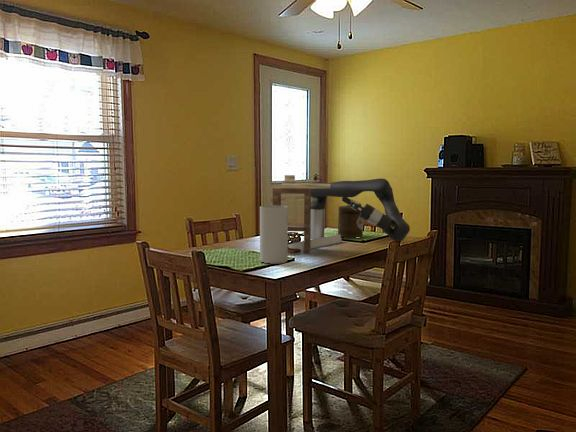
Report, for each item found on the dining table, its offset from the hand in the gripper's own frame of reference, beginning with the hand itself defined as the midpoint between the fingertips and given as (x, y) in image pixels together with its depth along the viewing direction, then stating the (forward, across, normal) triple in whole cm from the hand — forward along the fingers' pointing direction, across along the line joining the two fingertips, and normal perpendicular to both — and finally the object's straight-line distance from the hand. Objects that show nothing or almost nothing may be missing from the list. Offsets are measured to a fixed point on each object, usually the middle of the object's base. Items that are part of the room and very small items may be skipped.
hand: (342, 198), depth 253 cm
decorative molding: (-2, -22, +31) cm, 38 cm away
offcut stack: (+26, -8, +10) cm, 29 cm away
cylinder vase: (+13, +26, +39) cm, 49 cm away
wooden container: (-19, -53, +21) cm, 60 cm away
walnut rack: (+8, -3, +36) cm, 37 cm away
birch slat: (+18, 0, +5) cm, 19 cm away
